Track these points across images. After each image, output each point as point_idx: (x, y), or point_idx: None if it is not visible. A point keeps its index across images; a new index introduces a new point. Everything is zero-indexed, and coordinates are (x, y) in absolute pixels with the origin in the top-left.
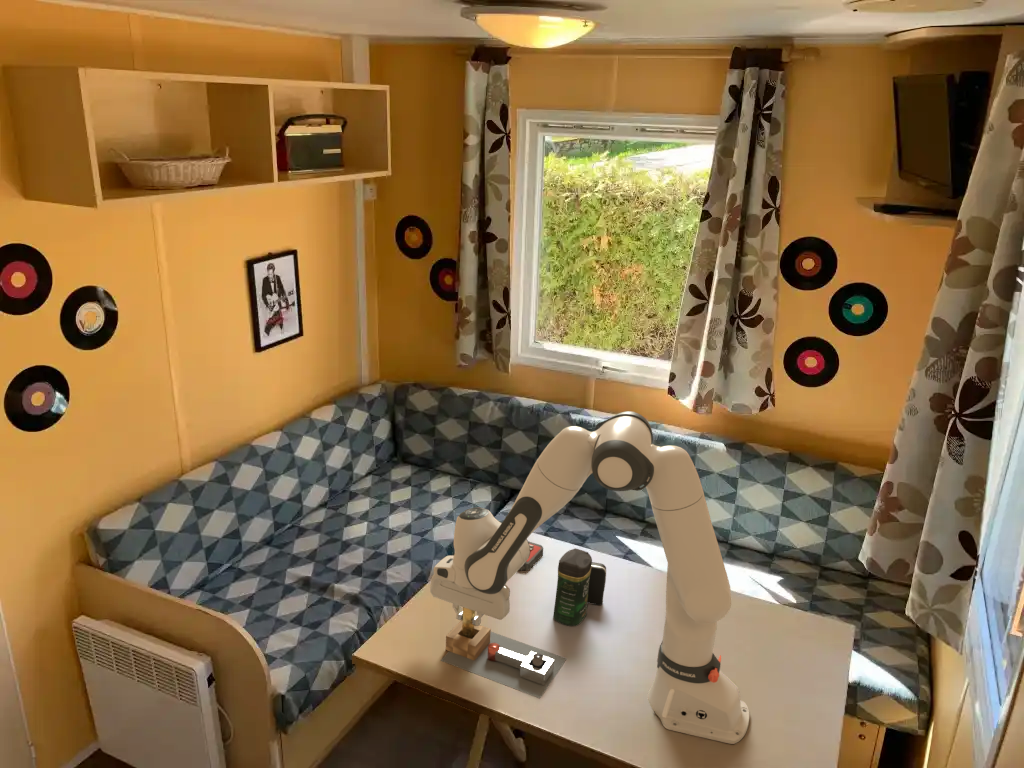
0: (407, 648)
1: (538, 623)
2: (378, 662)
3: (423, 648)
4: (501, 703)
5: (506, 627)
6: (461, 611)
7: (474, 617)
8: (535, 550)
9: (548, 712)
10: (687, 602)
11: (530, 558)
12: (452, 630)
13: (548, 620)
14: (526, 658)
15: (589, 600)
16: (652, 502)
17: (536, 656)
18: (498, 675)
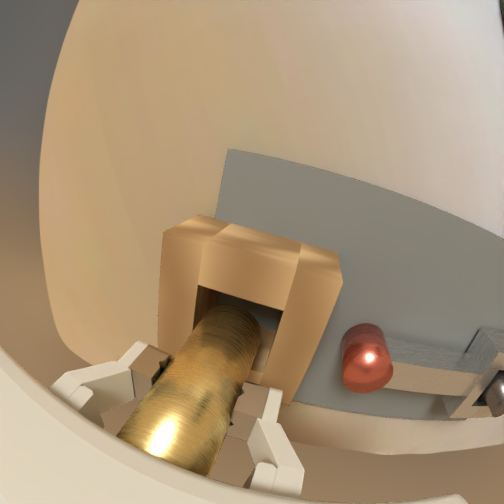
0: (101, 317)
1: (480, 69)
2: (89, 362)
3: (129, 313)
4: (382, 444)
5: (380, 107)
6: (132, 377)
7: (233, 426)
8: None
9: (468, 429)
10: None
11: None
12: (161, 328)
13: (498, 53)
14: (475, 387)
15: None
16: None
17: (502, 407)
18: (380, 398)
